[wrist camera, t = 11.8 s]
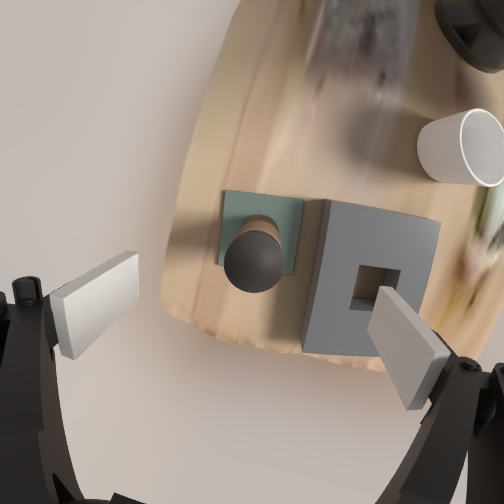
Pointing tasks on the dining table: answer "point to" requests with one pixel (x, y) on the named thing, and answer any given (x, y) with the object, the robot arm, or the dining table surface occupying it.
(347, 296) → the socket block
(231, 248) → the plug
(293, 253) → the mat
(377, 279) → the dining table surface
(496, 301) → the dining table surface
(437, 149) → the cup
